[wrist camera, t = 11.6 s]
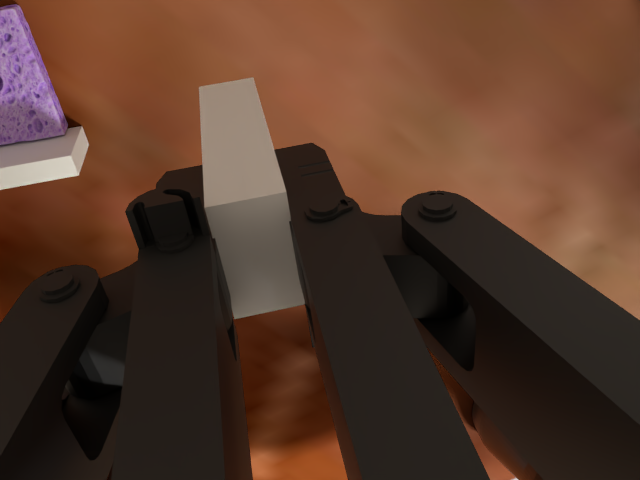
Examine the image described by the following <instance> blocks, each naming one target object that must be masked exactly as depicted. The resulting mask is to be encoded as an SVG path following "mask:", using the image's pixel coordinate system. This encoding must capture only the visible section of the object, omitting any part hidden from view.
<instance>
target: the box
mask: <svg viewBox="0 0 640 480" xmlns="http://www.w3.org/2000/svg"><path fill="white" fill-rule="evenodd" d="M88 146H89V143H88V141H87V138H86V135H85V133H84V130H83V127H82V126H79V127H73V128H68V129H67V130H66V132H65V135H59V136H54V137H49V138H43V139H38V140H32V141H20V142H15V143H12V144H4V145H0V190H2V189H8V188H13V187H18V186H24V185H29V184H35V183H40V182H45V181H51V180H56V179H62V178H67V177H72V176H78V175H79V173H80V170H81V167H82V164H83V161H84V158H85V155H86V152H87V149H88Z"/></svg>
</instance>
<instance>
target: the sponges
mask: <svg viewBox="0 0 640 480" xmlns="http://www.w3.org/2000/svg"><path fill="white" fill-rule="evenodd" d="M67 127H68V124H67V121H66V119H65V116H64V113H63V111H62V109H61V106H60V104H59V101H58V98H57V96H56V94H55V92H54V89H53V86H52V84H51V81H50V79H49V77H48V73H47V71H46V68H45V66H44V64H43V61H42V59H41V55H40V53H39V51H38V48H37V46H36V44H35V41H34V38H33V36H32V34H31V31H30V28H29V25H28V23H27V22H26V20H25V17H24V14H23V12H22V9H21V7H20V6H19V5H17V4H13V5H8V6H3V7H0V145H4V144H12V143H15V142H20V141H32V140H38V139H43V138H49V137H54V136H59V135H65V132H66V130H67Z"/></svg>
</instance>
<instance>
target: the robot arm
mask: <svg viewBox="0 0 640 480" xmlns="http://www.w3.org/2000/svg"><path fill="white" fill-rule="evenodd" d="M199 98H200V120H201V143H202V165H200V166H194V167H189V168H184V169H178V170H173V171H168V172H166V173H165V174H164V175H163V176H162V178H161V179H160V180H159V181H158V182H157V184H156V189H154V190H150V191H148V192H146V193H144V194H142V195H140V196H138V197H137V198H136V199H134V200H133V201H132V202H131V203H130V204H129V205H128V207H127V209H126V211H125V212H126V215H127V218H128V221H129V223H130V226H131V229H132V232H133V234H134V237H135V240H136V243H137V245H138V248H139V253H138V261H136V262H135V263H133V264H132V265H130V266H129V267H126V268H124V269H122V270H120V271H118V272H116V273H113V274H111V275H108V276H106V277H103V278H101V279H100V278H99V276H98V274H97V272H96V270H95V269H93V268H91V267H89V266H84V265H71V266H66V267H60V268H57V269H55V270H51V271H49V272H47V273H45V274H44V275H42V276H41V277H39V278H38V279H36V280H34V281H33V282H32V283H31V284H30V285H29V286H28V287H27V288H26V289H25V290H24V291H23V293H22V294H21V296H20V297H19V298H18V300H17V301H16V302H15V304H14V305H13V307H12V308H11V309H10V311H9V312H8V314H7V315H6V316H5V318H4V319H3V321H2V322H1V323H0V480H107V477H108V475H109V472H110V470H111V467H112V464H113V468H112V476H111V480H253V477H252V468H251V458H250V449H249V439H248V430H247V421H246V411H245V402H244V392H243V383H242V373H241V364H240V355H239V345H238V336H237V332H236V329H235V325H234V321H233V317H232V312H233V315H234V319H238V318H243V317H248V316H252V315H257V314H262V313H266V312H271V311H276V310H280V309H285V308H290V307H295V306H299V305H304V304H305V306H306V312H307V317H308V323H309V329H310V335H311V341H312V347H315V350H316V354H317V358H318V362H319V366H320V370H321V374H322V378H323V382H324V386H325V390H326V394H327V398H328V402H329V406H330V410H331V414H332V418H333V422H334V426H335V430H336V433H337V437H338V441H339V445H340V449H341V453H342V457H343V461H344V465H345V469H346V473H347V477H348V480H490V479H489V476H488V474H487V472H486V470H485V468H484V466H483V464H482V462H481V460H480V458H479V456H478V453H477V451H476V449H475V447H474V445H473V443H472V441H471V439H470V437H469V435H468V433H467V431H466V428H465V426H464V424H463V422H462V420H461V418H460V416H459V414H458V412H457V410H456V408H455V405H454V403H453V401H452V399H451V397H450V395H449V393H448V391H447V389H446V387H445V385H444V382H443V380H442V378H441V376H440V374H439V372H438V370H437V368H436V366H435V364H434V362H433V360H432V357H431V355H430V353H429V351H428V349H429V350H430V351H431V353H432V354H433V355H434V356H435V357H436V358H437V359H438V361H439V362H440V363H441V364H442V365H443V366H444V367H445V368H446V370H447V371H448V372H449V373H450V374H451V375H452V376H453V378H454V379H455V380H456V381H457V382H458V383H459V384H460V385H461V387H462V388H463V389H464V390H465V391H466V392H467V393H468V395H469V396H470V397H471V398H472V399H473V400H474V404H473V409H472V419H473V423H474V426H475V428H476V430H477V432H478V434H479V436H480V438H481V440H482V441H483V443H484V445H485V446H486V448H487V449H488V450H489V451H490V452H491V453H492V454H493V455H494V456H495V457H496V458H497V459H498V460H499V461H500V462H501V463H502V464H503V465H504V466H505V467H506V468H507V469H508V470H509V471H510V472H511V473H512V474H513V475H514V476H515V477H516V478H517V479H518V480H640V320H638V319H637V318H636V317H634V316H633V315H631V314H630V313H628V312H627V311H626V310H624V309H623V308H621V307H620V306H619V305H617V304H616V303H614V302H613V301H611V300H610V299H609V298H607V297H606V296H604V295H603V294H602V293H600V292H599V291H597V290H596V289H594V288H593V287H592V286H590V285H589V284H587V283H586V282H585V281H583V280H582V279H580V278H579V277H577V276H576V275H575V274H573V273H572V272H570V271H569V270H568V269H566V268H565V267H563V266H562V265H560V264H559V263H558V262H556V261H555V260H553V259H552V258H551V257H549V256H548V255H546V254H545V253H543V252H542V251H541V250H539V249H538V248H536V247H535V246H534V245H532V244H531V243H529V242H528V241H526V240H525V239H524V238H522V237H521V236H519V235H518V234H517V233H515V232H514V231H512V230H511V229H509V228H508V227H507V226H505V225H504V224H502V223H501V222H500V221H498V220H497V219H495V218H494V217H492V216H491V215H490V214H488V213H487V212H485V211H484V210H483V209H481V208H480V207H478V206H477V205H475V204H474V203H473V202H471V201H470V200H468V199H467V198H465V197H463V196H461V195H458V194H455V193H450V192H445V191H430V192H426V193H421V194H417V195H415V196H413V197H412V198H410V199H408V200H407V201H406V202H405V203H404V204H403V206H402V210H401V215H386V216H385V215H373V214H368V213H364V212H362V211H361V209H360V207H359V205H358V204H357V203H356V202H355V201H354V200H353V199H352V198H349V197H347V196H346V195H345V193H344V191H343V189H342V187H341V185H340V182H339V180H338V178H337V176H336V174H335V172H334V170H333V167H332V165H331V163H330V161H329V159H328V156H327V154H326V152H325V150H323V149H322V148H320V147H318V146H317V145H315V144H313V143H308V144H303V145H297V146H292V147H287V148H281V149H276V150H274V147H273V144H272V141H271V137H270V134H269V130H268V127H267V123H266V120H265V116H264V113H263V110H262V106H261V103H260V99H259V96H258V92H257V89H256V85H255V82H254V79H253V78H247V79H241V80H236V81H230V82H224V83H219V84H213V85H207V86H202V87H199ZM427 348H428V349H427Z"/></svg>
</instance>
